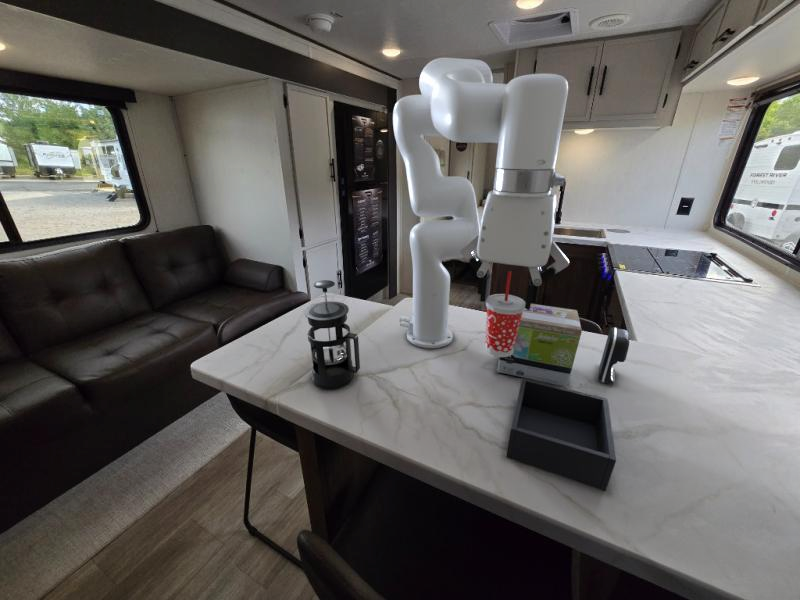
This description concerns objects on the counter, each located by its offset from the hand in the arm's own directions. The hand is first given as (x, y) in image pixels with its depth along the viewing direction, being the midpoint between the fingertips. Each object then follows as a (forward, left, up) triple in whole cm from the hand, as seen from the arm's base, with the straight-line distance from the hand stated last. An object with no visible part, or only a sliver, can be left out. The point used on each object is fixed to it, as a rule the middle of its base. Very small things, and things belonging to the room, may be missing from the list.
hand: (505, 301), depth 54 cm
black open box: (+11, +1, -25) cm, 28 cm away
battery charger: (+21, +26, -25) cm, 42 cm away
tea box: (+5, +22, -25) cm, 34 cm away
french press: (-35, 0, -25) cm, 43 cm away
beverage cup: (0, 0, -9) cm, 9 cm away
